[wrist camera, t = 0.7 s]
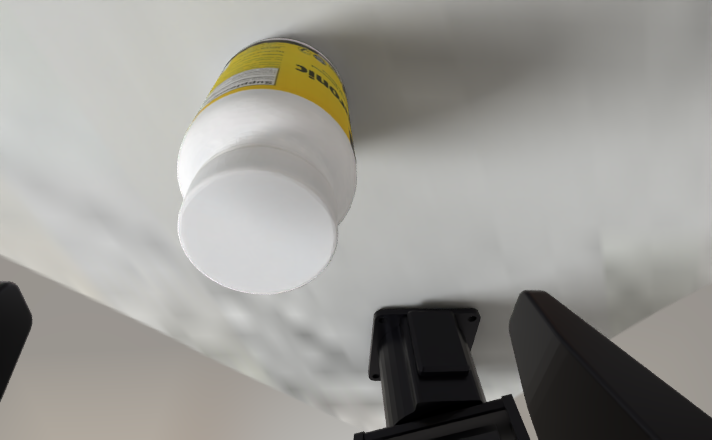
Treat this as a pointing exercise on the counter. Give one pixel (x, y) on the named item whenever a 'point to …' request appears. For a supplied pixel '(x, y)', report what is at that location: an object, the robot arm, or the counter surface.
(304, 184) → the supplement bottle
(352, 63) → the counter surface
